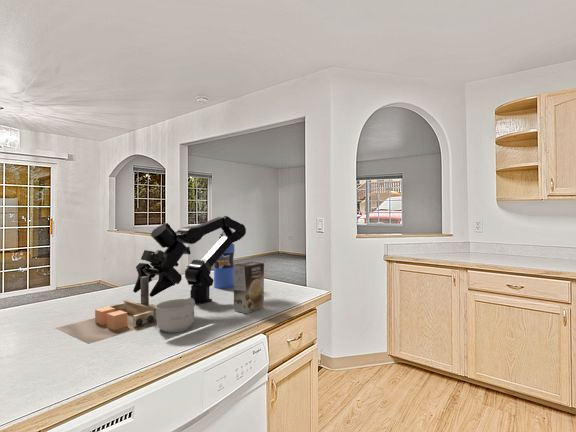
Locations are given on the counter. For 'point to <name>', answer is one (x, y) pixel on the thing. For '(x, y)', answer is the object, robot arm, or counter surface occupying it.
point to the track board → (99, 329)
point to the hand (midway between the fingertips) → (142, 294)
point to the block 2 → (117, 320)
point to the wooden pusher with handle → (139, 306)
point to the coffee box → (248, 287)
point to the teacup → (175, 315)
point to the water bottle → (224, 269)
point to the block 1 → (102, 315)
